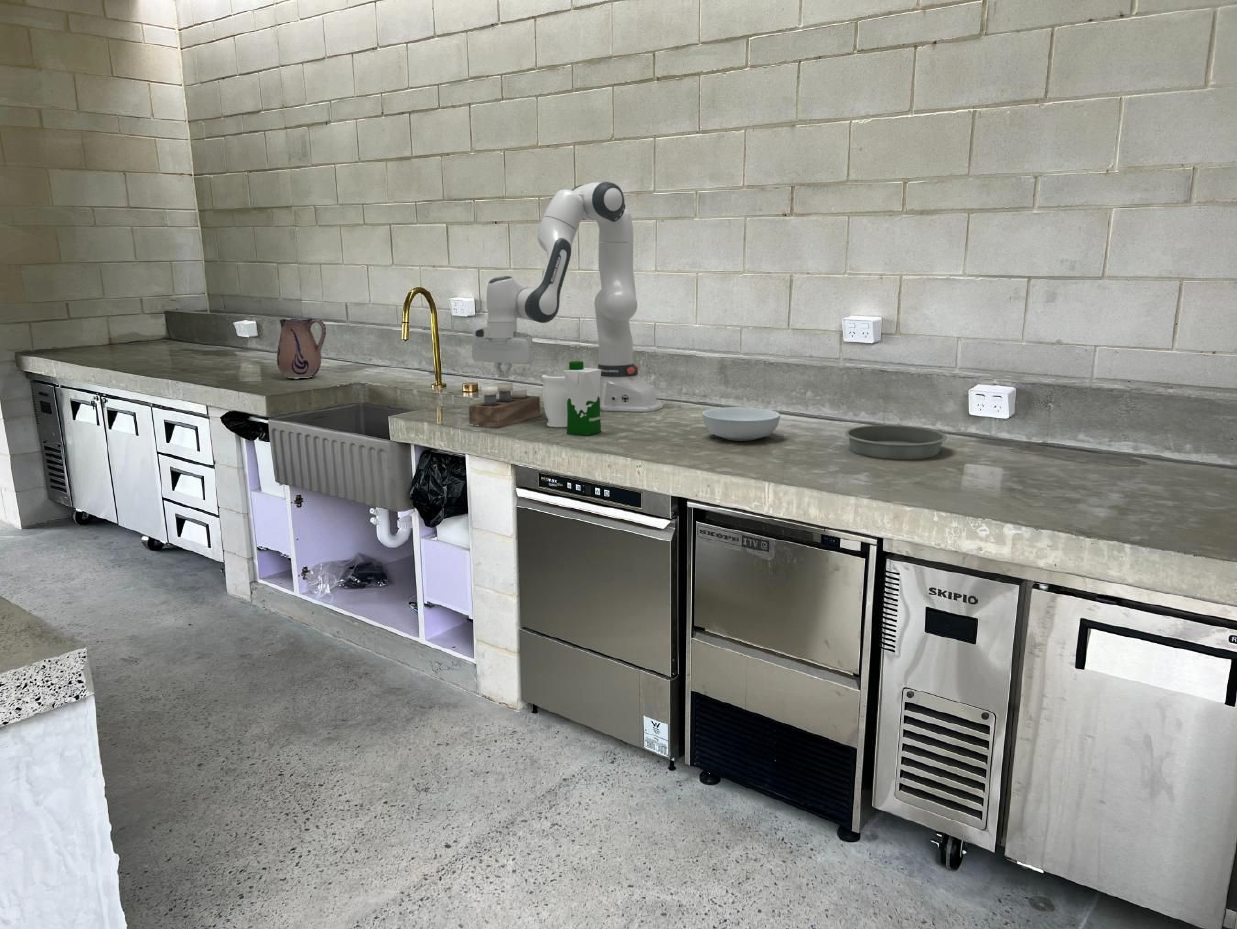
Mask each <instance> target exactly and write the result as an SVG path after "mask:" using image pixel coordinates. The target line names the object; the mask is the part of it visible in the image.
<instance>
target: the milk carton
mask: <svg viewBox="0 0 1237 929" xmlns="http://www.w3.org/2000/svg"><path fill="white" fill-rule="evenodd" d="M584 366H585V365H584V361H582V360H581V361H580V360H579V361H578V360H574V361H573V360H572V361H569V363H568V369H565V370H563V373H564V375H565V380H566V385H567V427H566V435H575V436H585V437H588V436H592V435H594V434H595V435H596V434H598V433H601V432H602V423H601V409H600V377H601V369H598V368H594V367H584Z"/></svg>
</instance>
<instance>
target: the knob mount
mask: <svg viewBox="0 0 1237 929" xmlns="http://www.w3.org/2000/svg"><path fill="white" fill-rule="evenodd" d="M540 397H541V396H539V395H527V397H525V398H524V399H514V398H513V397H512V395H511V402H509V403H504V402H499V397H498V398H496V401H497V406H494V407H490V406H484V401H483V402H479V403H475V404H471V405H469V406H468V416H469V425H470V424H473V425H479V426H485V427H484V428H490V427H492V428H493V429H499V428H502V427H506V426H510V425H513V424H515V423H519V422H523V421H527V420H530V419H533V418H535V417H540V416H541V402H540V401H541V399H540Z"/></svg>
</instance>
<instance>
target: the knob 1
mask: <svg viewBox="0 0 1237 929" xmlns="http://www.w3.org/2000/svg"><path fill="white" fill-rule="evenodd" d="M481 395H483V402H484V406H490V407H494V406H497V401H496V399H497V395H499V391H498V387H497V385H495V386H494V385H487V386H486V385H485V386H481Z"/></svg>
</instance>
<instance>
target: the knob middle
mask: <svg viewBox="0 0 1237 929" xmlns="http://www.w3.org/2000/svg"><path fill="white" fill-rule="evenodd" d="M513 385H514V384H513V383H512V382H498V383H496V386H497V387H498V398H499V402H504V403H509V402H511V391H512V390H514V388H513V387H514V386H513Z"/></svg>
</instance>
